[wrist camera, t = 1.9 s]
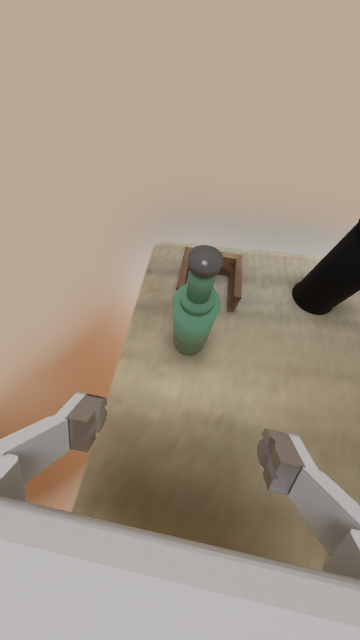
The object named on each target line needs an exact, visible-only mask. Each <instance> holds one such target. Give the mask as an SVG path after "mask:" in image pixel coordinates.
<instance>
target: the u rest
mask: <svg viewBox="0 0 360 640" xmlns="http://www.w3.org/2000/svg"><path fill="white" fill-rule="evenodd" d="M192 249H193V248H189V247H185V252H184V256H183V261H182V265H181V270H180V274H179V279H178V283H177V290H178V289H179V288H180V287H182V286H183V285H184V284H186V282H187V276H188V271H189V269H188V266H187V261H188V254H189V252H190V251H191V250H192ZM221 254H222V255H223V264H222V267H221V270H220V272H219V273H218V274H221V275H227V276H229V285H228V301H227V311H232V312H233V311H234V309H235V307H236V306H237V304H238V302H239V300H240V299H241V287H242V255H237V254H230V253H223V252H221Z"/></svg>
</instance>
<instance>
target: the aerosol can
mask: <svg viewBox="0 0 360 640" xmlns="http://www.w3.org/2000/svg"><path fill="white" fill-rule="evenodd" d="M359 290H360V219H359V222H358V223H357V224H356V226H354V227H353V229H352V230H351V231H350V232H349V233H348V234H347V235H346V236H345V237H344V238H343V239H342V240H341V241H340V242H339V243H338V244H337V245H336V246H335V247H334V248H333V249H332V250H331V251H330V252H329V253H328V254H327V255H326V256H325V257H324V258H323V259H322V260H321V261H320V262H319V263H318V264H317V265H316V266H315V267H314V269H313V270H312V271H311V272H310V273H309V274H308V275H307V276H306V277H305V278H304V279H303V280H302V281H301V282H299V283H298V284H296V285H295V286H294V288H293V292H292V293H293V298H294V300H295V302H296V303H297V304H298V305H299V306H300V307H301V308H302V309H304V310H305V311H307V312H310V313H313V314H326V313H328V312H329V311H331V310H332V308H333V307H335V306H336V305H338V304H339V303H341V302H342V301H344V300H345V299H347V298H348V297H350V296H351V295H353V294H355V293H356V292H358V291H359Z"/></svg>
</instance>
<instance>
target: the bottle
mask: <svg viewBox="0 0 360 640" xmlns="http://www.w3.org/2000/svg"><path fill="white" fill-rule="evenodd" d="M222 264H223V255H222V254H221V252H220V251H219V250H218V249H216V248H214V247H212V246H207V245H201V246H197V247H195V248H193V249H192V250H191V251H190V252H189V254H188V261H187V266H188V269H189V274H188V282H187V283H186V284H184V285H183V286H182V287H180V288H179V289H178V290H177V291H176V293H175V295H174V297H173V337H174V345H175V347H176V349H177V350H178V351H179V352H180V353H182V354H184V355H194V354H197V353H198V352H200V351H201V349H202V348H203V346H204V344H205V341H206V339H207V337H208V335H209V332H210V330H211V328H212V326H213V323H214V321H215V319H216V317H217V314H218V312H219V310H220V298H219V296H218V294H217V293H216V291H215V289H214V288H213V285H214V282H215V279H216V275H217V274H218V273H219V272H220V270H221V267H222Z"/></svg>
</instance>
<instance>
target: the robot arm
mask: <svg viewBox="0 0 360 640" xmlns="http://www.w3.org/2000/svg"><path fill="white" fill-rule="evenodd" d="M106 405H107V398H105V397H100V396H95V395H91V394H86V393H81V392H78V393H75V394H74V395H73V397H72V398H71V399H70V400H69V401H68V402H67V403H66V404H65V405H64V406H63V407H62V408H61V409H60V410H59V411H58V412H57V414H56V415H55V416H49V417H47V418H45V419H43V420H41V421H39V422H36V423H34V424H32V425H30V426H28V427H26V428H23V429H22V430H19V431H17V432H15V433H13V434H11V435H8V436H6V437H4V438H2V439H0V640H360V505H359V504H358V503H357V502H356V501H354V500H353V499H352V498H351V497H350V496H349V495H348V494H347V493H346V492H345V491H343V490H342V489H341V488H340V487H339V486H338V485H337V484H336V483H335V482H334V481H333V480H331V479H330V478H329V477H328V476H327V475H326V474H325V473H324V472H323V471H319V470H318V468H317V466H316V465H315V463H314V461H313V460H312V458H311V456H310V454H309V453H308V451H307V449H306V448H305V446H304V444H303V442H302V441H301V439H300V437H299V436H298V435H296V434H291V433H285V432H280V431H275V430H269V429H264V430H263V432H262V436H263V439H262V440H260V441H259V443H258V447H257V454H258V459H259V463H260V464H261V465H262V467H263V468H264V472H263V476H264V479H265V482H266V486H267V489H268V491H272V492H276V493H280V494H284V495H288V498H289V499H290V501H291V502H292V503H293V505H294V506H295V508H296V509H297V510H298V512H299V513H300V514H301V516H302V517H303V519H304V520H305V521H306V523H307V524H308V525H309V527H310V528H311V530H312V531H313V532H314V534H315V535H316V536H317V538H318V539H319V541H320V542H321V543H322V545H323V546H324V547H325V549H326V550H327V552H328V553H329V554H330V557H329V559H328V560H327V561H326V563H325V564H324V566H323V571H321V570H317V569H312V568H308V567H304V566H299V565H295V564H291V563H287V562H282V561H278V560H274V559H269V558H265V557H261V556H257V555H252V554H248V553H244V552H239V551H235V550H231V549H227V548H222V547H218V546H214V545H209V544H205V543H201V542H197V541H192V540H188V539H184V538H179V537H175V536H171V535H166V534H162V533H158V532H154V531H149V530H145V529H141V528H136V527H132V526H128V525H123V524H119V523H115V522H110V521H106V520H102V519H98V518H93V517H89V516H85V515H80V514H76V513H72V512H67V511H63V510H58V509H54V508H50V507H46V506H41V505H37V504H33V503H28V502H25V501H26V492H25V487H24V484H26V483H27V482H28V481H30V480H31V479H32V478H34V477H35V476H36V475H37V474H39V473H40V472H41V471H43V470H44V469H46V468H47V467H48V466H49V465H51V464H52V463H53V462H55V461H56V460H57V459H59V458H60V457H61V456H63V455H64V454H65V453H67V452H68V451H69V450H70V449H73V450H79V451H84V452H88V451H89V449H90V447H91V446H92V444H93V442H94V441H95V439H96V433H97V432H99V431H100V430H101V429H102V427H103V425H104V422H105V420H106V416H107V410H106V409H105V406H106Z"/></svg>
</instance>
